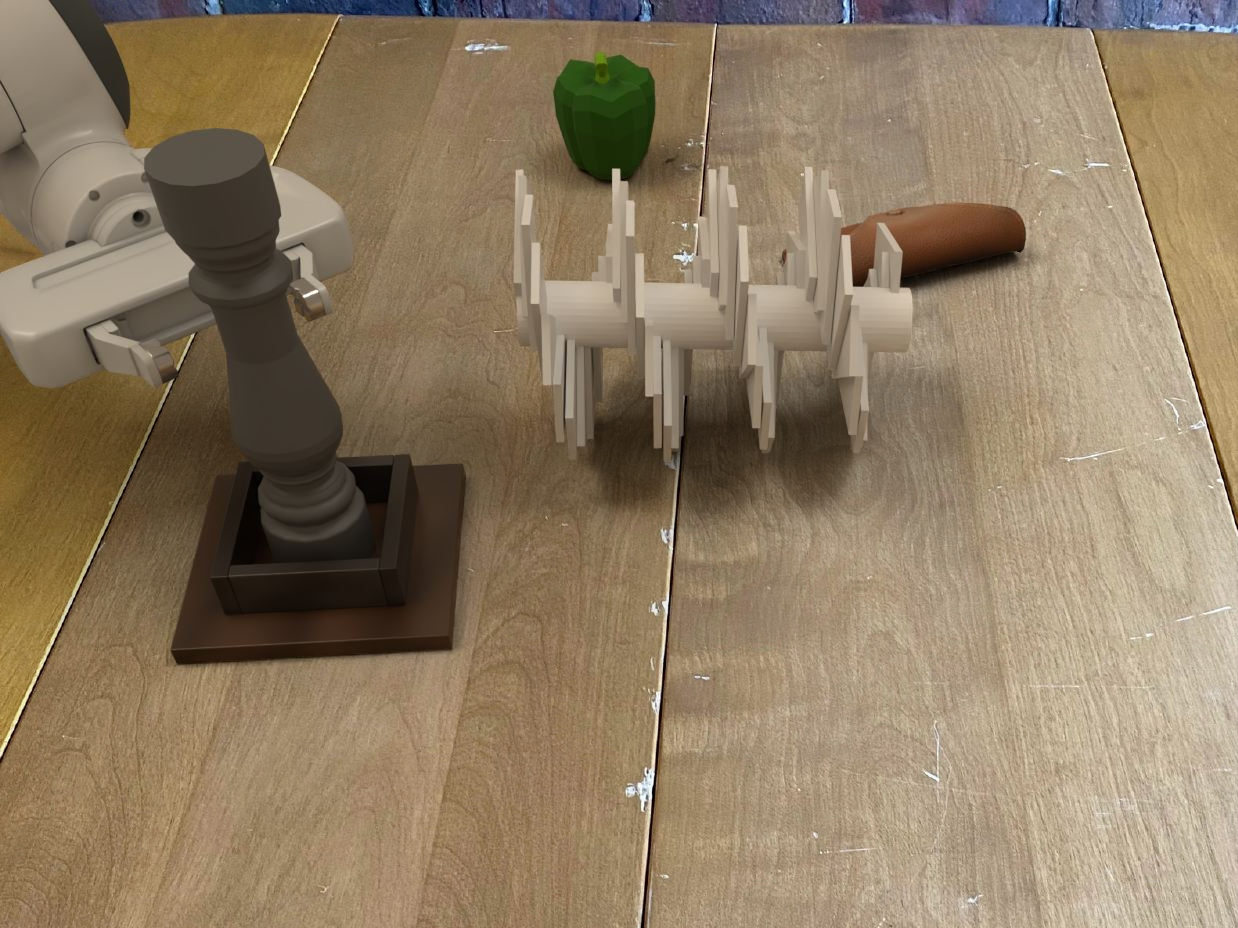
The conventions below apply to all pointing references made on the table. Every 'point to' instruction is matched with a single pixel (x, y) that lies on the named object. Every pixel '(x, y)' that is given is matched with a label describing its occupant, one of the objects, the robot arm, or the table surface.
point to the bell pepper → (605, 113)
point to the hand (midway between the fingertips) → (243, 338)
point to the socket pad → (327, 573)
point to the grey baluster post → (261, 341)
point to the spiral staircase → (710, 312)
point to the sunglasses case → (936, 236)
